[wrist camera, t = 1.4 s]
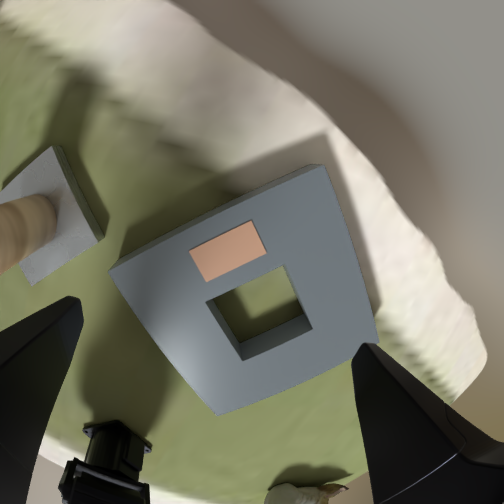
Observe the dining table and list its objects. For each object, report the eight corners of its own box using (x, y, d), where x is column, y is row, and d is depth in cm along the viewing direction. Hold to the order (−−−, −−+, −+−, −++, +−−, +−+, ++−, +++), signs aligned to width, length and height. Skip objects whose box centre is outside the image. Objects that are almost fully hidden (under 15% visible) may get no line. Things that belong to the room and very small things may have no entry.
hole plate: (215, 397, 26) (217, 416, 23) (117, 259, 20) (107, 272, 18) (367, 328, 25) (379, 342, 23) (311, 163, 20) (324, 164, 18)
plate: (39, 279, 20) (31, 286, 18) (0, 199, 17) (-10, 202, 16) (104, 237, 20) (98, 242, 18) (61, 146, 17) (51, 145, 16)
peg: (33, 255, 18) (-28, 298, 10) (11, 211, 16) (-56, 239, 9) (65, 231, 18) (1, 270, 10) (42, 183, 16) (-30, 202, 9)
